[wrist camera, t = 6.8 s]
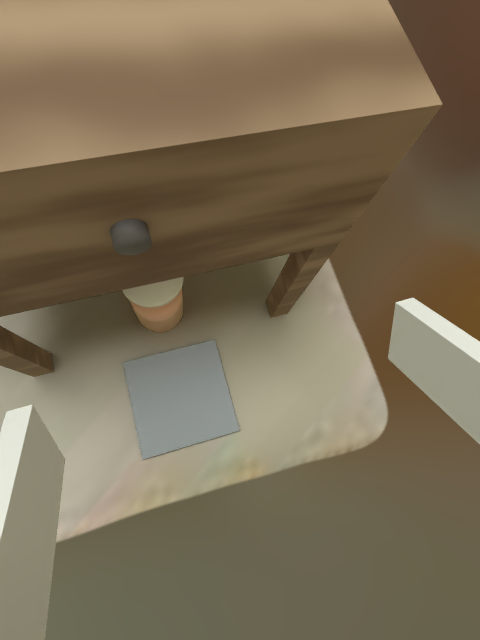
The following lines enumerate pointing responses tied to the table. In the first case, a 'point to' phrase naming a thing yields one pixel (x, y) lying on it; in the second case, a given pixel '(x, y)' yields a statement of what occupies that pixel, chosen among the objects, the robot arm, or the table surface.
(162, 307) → the canister
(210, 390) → the mat
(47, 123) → the cabinet
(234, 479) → the table surface
